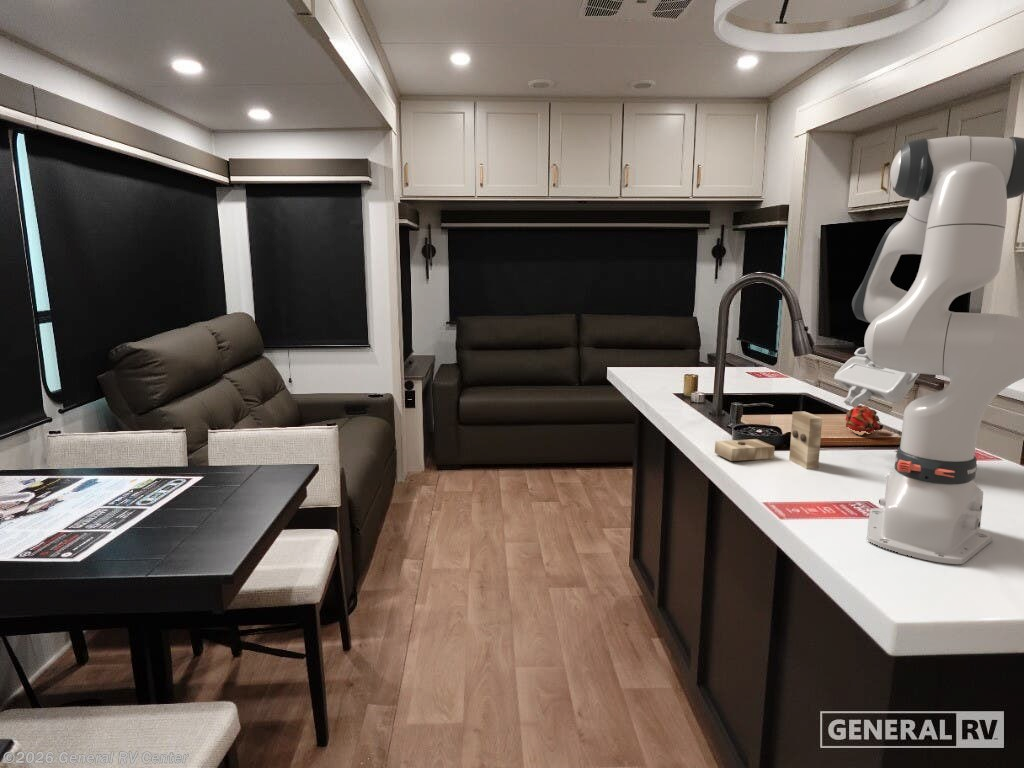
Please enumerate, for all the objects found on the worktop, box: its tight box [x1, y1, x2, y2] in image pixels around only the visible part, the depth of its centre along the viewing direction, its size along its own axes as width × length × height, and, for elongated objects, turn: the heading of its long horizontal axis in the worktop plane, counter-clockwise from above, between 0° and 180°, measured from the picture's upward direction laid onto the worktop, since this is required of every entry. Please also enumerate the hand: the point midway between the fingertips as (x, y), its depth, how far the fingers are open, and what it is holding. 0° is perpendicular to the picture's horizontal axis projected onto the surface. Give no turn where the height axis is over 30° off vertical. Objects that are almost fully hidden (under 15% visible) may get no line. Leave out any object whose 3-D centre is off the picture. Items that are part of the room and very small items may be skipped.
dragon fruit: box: [845, 404, 884, 434], centre depth 178 cm, size 8×8×12 cm
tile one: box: [714, 438, 776, 462], centre depth 159 cm, size 4×7×12 cm
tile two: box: [789, 411, 823, 470], centre depth 152 cm, size 4×7×12 cm, turn 9°
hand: (848, 404), depth 153 cm, fingers closed
